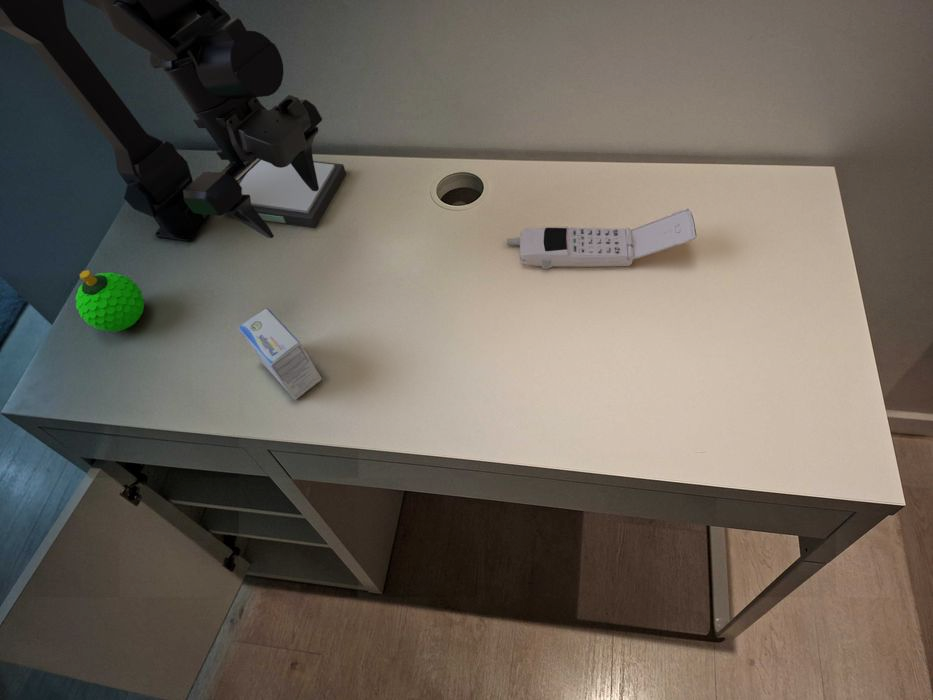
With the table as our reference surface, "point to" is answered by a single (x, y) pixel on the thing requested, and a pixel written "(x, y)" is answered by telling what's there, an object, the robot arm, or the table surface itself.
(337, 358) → the table surface
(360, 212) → the table surface
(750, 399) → the table surface
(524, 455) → the table surface
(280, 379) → the medicine box
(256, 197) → the kitchen scale
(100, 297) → the ornament
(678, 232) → the mobile phone
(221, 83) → the robot arm
